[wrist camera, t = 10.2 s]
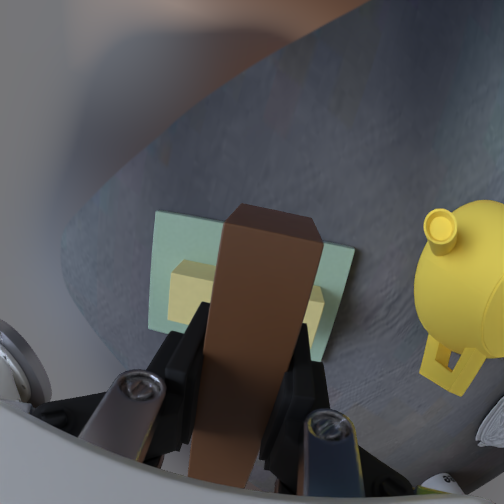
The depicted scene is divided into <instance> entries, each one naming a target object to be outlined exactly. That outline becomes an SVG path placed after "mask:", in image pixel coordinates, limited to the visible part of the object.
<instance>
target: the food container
mask: <svg viewBox="0 0 504 504" xmlns="http://www.w3.org/2000/svg"><path fill="white" fill-rule="evenodd" d="M475 438H476V440H481V441H482V442H480V443H479V444H477V445H478V446H480V447H483V446H484V445H486V446H489V445H491V446H496V447H504V397H503V398H501V400H499V402H498V403H497V404H496V406H495V407H494V408H493V409H492V410H491V412H490V413H489V414H488V415H487V417H486V418H485V419H484V420H483V423H482V424H481V426H480V427H479V430H478V432H477V436H476V437H475Z"/></svg>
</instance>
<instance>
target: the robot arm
mask: <svg viewBox="0 0 504 504" xmlns="http://www.w3.org/2000/svg"><path fill="white" fill-rule="evenodd" d="M209 307H210V303H207V302H203V301H202V302H201V304H200V305H199V307H198V309H197V311H196V313H195V314H194V316H193V318H192V320H191V322H190V323H189V325H188V327H187V329H186V331H185V333H180V332H176V331H173V330H172V331H170V333H169V334H168V336H167V337H166V339H165V340H164V342H163V344H162V345H161V347H160V348H159V350H158V352H157V353H156V355H155V356H154V358H153V360H152V361H151V363H150V365H149V366H148V368H147V369H146V370H141V369H134V370H129V371H125V372H123V373H121V374H120V375H119V376H118V377H117V378H116V379H115V380H114V382H113V384H112V385H111V386H110V388H109V389H108V391H107V392H103V393H98V394H92V395H87V396H82V397H76V398H70V399H65V400H59V401H52V402H47V403H44V404H42V405H40V406H38V407H37V408H33V407H32V404H30V403H26V402H27V401H28V400H29V399H30V398H31V388H30V385H29V382H28V379H27V377H26V375H25V373H24V372H23V370H22V368H21V367H20V365H19V364H18V362H17V361H16V360H15V358H14V357H13V356H12V355H11V354H10V353H9V352H8V351H7V350H6V349H5V348H4V347H3V346H2V345H1V344H0V504H496V503H494V502H492V501H490V500H488V499H484V498H482V497H476V496H471V495H465V494H452V493H448V492H443V491H439V490H435V489H431V488H427V487H423V486H419V485H417V486H416V487H415V488H412V485H411V484H410V482H409V481H408V480H407V479H406V478H405V477H403V476H402V475H401V474H399V473H398V472H396V471H395V470H393V469H392V468H390V467H389V466H387V465H386V464H384V463H383V462H381V461H380V460H378V459H377V458H376V457H374V456H373V455H371V454H370V453H368V452H367V451H366V450H364V449H363V448H361V447H360V446H359V445H358V443H357V437H356V431H355V427H354V425H353V423H352V421H351V420H350V419H349V418H348V417H347V416H345V415H344V414H343V413H340V412H338V411H336V410H332V409H330V404H329V398H328V391H327V384H326V378H325V371H324V365H323V363H322V362H318V361H312V360H311V353H310V344H309V336H308V327H307V323H302V326H301V330H300V333H299V336H298V340H297V343H296V346H295V349H294V352H293V356H292V359H291V362H290V365H289V368H288V371H287V372H285V373H284V376H283V379H282V382H281V385H280V388H279V391H278V394H277V397H276V400H275V403H274V406H273V409H272V412H271V415H270V418H269V420H268V423H267V426H266V429H265V432H264V434H263V437H262V440H261V445H260V455H259V459H260V460H265V466H264V470H270V471H271V472H272V473H273V474H274V475H275V476H276V477H277V478H276V482H275V491H274V493H270V492H262V491H255V490H249V489H243V488H237V487H232V486H226V485H221V484H216V483H212V482H207V481H203V480H199V479H195V478H191V477H186V476H183V475H179V474H176V473H172V472H168V471H165V470H162V469H161V466H162V463H163V460H164V454H167V453H170V452H172V451H180V448H181V445H182V443H184V444H189V441H190V438H191V435H192V432H193V429H194V425H195V417H196V410H197V402H198V395H199V387H200V380H201V373H202V366H203V359H204V355H203V348H204V341H205V334H206V327H207V321H208V314H209Z"/></svg>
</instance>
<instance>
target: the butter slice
mask: <svg viewBox="0 0 504 504" xmlns="http://www.w3.org/2000/svg"><path fill="white" fill-rule="evenodd" d="M215 269H216V266H214V265H209V264H204V263H199V262H194V261H189V260H183V261H182V262H181V263H180V264H179V265H178V266H177V267H176V268H175V269H174V270H173V271H172V272H171V278H170V290H169V304H168V320H170V321H174V322H178V323H182V324H186V325H189V323H190V322H191V320H192V318H193V316H194V314H195V313H196V311H197V309H198V307H199V305H200V304H201V302H202V301H203V302H207V303H210V301H211V294H212V288H213V282H214V275H215Z"/></svg>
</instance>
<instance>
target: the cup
mask: <svg viewBox="0 0 504 504" xmlns="http://www.w3.org/2000/svg"><path fill="white" fill-rule="evenodd" d="M421 486H423V487H427V488H431V489H435V490H439V491H443V492H448V493H452V494H464V493H463V491H462V490H461V488H460V487H459V485H458V484H457V482H456V481H455V480H454V479H453V478H452V477H451V476H450V475H449V474H448V473H441V474H438V475H435V476H433V477H431V478H429V479H428V480H426V481H425V482H424V483H423V484H422V485H421Z"/></svg>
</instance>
